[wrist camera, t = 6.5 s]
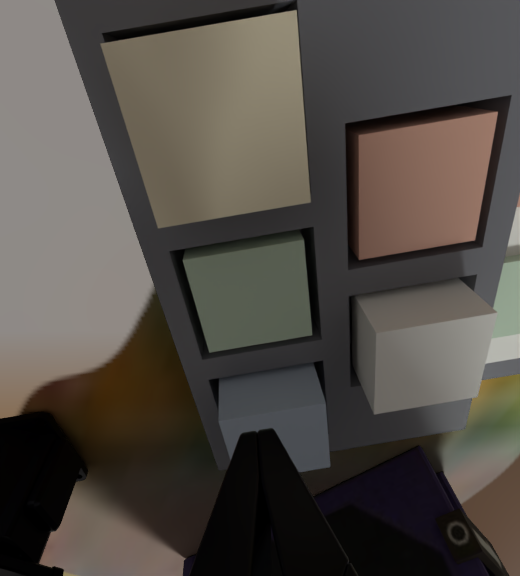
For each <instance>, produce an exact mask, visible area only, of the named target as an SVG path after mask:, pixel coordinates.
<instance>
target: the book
mask: <svg viewBox="0 0 520 576" xmlns="http://www.w3.org/2000/svg"><path fill="white" fill-rule="evenodd" d="M313 498H314V500H315V501H316V503H317V505H318V507H319V508H320V510H321V512H322V514H323V515H324V517H325V519H326V521H327V522H328V524H329V526H330V527H331V529H332V531H333V533H334V534H335V536H336V538H337V540H338V541H339V543H340V545H341V547H342V548H343V550H344V552H345V554H346V555H347V557H348V559H349V563H351V564H352V566H353V567H354V569H355V571H356V572H357V574H358V576H509V574H508V573H507V571H506V569H505V567H504V566H503V564H502V562H501V560H500V559H499V557H498V555H497V553H496V551H495V550H494V548H493V546H492V544H491V543H490V542H489V541H488V540H487V538H486V537H485V536H484V535H483V534H482V533H481V532H480V531H479V529H478V528H477V527H476V526H475V525H474V524H473V523H472V522H471V520H470V519H469V518H468V517H467V515H466V513H465V512H464V510H463V508H462V506H461V504H460V502H459V500H458V499H457V497H456V495H455V493H454V491H453V489H452V488H451V486H450V484H449V482H448V480H447V478H446V477H445V475H444V474H443V472H440V473H438V474H436V473H435V472H434V470H433V468H432V466H431V464H430V462H429V460H428V458H427V456H426V454H425V453H424V451H423V449H422V448H421V447H420V446H418V447H416V448H414V449H411V450H409V451H407V452H405V453H403V454H401V455H399V456H397V457H395V458H393V459H391V460H389V461H387V462H385V463H383V464H380V465H378V466H376V467H374V468H372V469H370V470H368V471H366V472H364V473H362V474H360V475H358V476H356V477H354V478H352V479H350V480H347V481H345V482H343V483H341V484H339V485H337V486H335V487H333V488H331V489H329V490H327V491H325V492H323V493H321V494H319V495H317V496H314V497H313ZM271 545H272V576H283V575H282V571H281V566H280V562H279V558H278V554H277V549H276V545H275V541H274V536H273V532H272V528H271ZM195 557H196V555H193V556H191V557H189V558H187V559H185V560H184V568H183V576H189V574H190V571H191V568H192V566H193V563H194V560H195Z"/></svg>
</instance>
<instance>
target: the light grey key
mask: <svg viewBox="0 0 520 576" xmlns="http://www.w3.org/2000/svg"><path fill="white" fill-rule="evenodd" d="M351 306H352V365H353V367H354V370H355V372H356V374H357V377H358V379H359V381H360V383H361V386H362V388H363V390H364V393H365V395H366V397H367V400H368V402H369V404H370V406H371V409H372V411H373V413H374V415H375V414H380V413H386V412H392V411H398V410H404V409H410V408H416V407H422V406H428V405H434V404H440V403H445V402H451V401H457V400H463V399H469V398H475V397H477V396H478V392H479V388H480V384H481V380H482V376H483V371H484V367H485V363H486V359H487V355H488V351H489V347H490V343H491V338H492V334H493V330H494V326H495V322H496V318H497V314H498V312H496V311H495V310H494V309H493V308H492V307H491V306H490V305H489V304H487V303H486V302H485V301H484V300H483V299H482V298H481V297H479V296H478V295H477V294H476V293H475V292H474V291H473V290H471V289H470V288H469V287H468V286H467V285H466V284H465V283H464V282H462V281H461V280H460V279H459V278H453V279H447V280H441V281H435V282H429V283H423V284H417V285H412V286H406V287H400V288H394V289H388V290H382V291H376V292H370V293H364V294H359V295H353V296H351Z"/></svg>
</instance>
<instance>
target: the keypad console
mask: <svg viewBox="0 0 520 576" xmlns="http://www.w3.org/2000/svg"><path fill="white" fill-rule="evenodd" d="M55 3H56V6H57V9H58V11H59V14H60V17H61V20H62V23H63V26H64V29H65V31H66V34H67V37H68V40H69V43H70V46H71V48H72V51H73V54H74V57H75V60H76V63H77V66H78V69H79V71H80V74H81V77H82V80H83V83H84V86H85V89H86V92H87V94H88V97H89V100H90V103H91V106H92V109H93V112H94V115H95V117H96V120H97V123H98V126H99V129H100V132H101V134H102V137H103V140H104V143H105V146H106V149H107V151H108V155H109V157H110V160H111V163H112V166H113V169H114V172H115V175H116V177H117V180H118V183H119V186H120V189H121V192H122V195H123V197H124V200H125V203H126V206H127V209H128V212H129V214H130V217H131V220H132V223H133V226H134V229H135V232H136V235H137V238H138V240H139V243H140V246H141V249H142V252H143V255H144V258H145V260H146V263H147V266H148V269H149V272H150V274H151V278H152V280H153V283H154V286H155V289H156V292H157V295H158V298H159V300H160V303H161V306H162V309H163V312H164V315H165V318H166V321H167V323H168V326H169V329H170V332H171V335H172V338H173V341H174V343H175V346H176V349H177V352H178V355H179V358H180V361H181V363H182V366H183V369H184V372H185V375H186V378H187V381H188V383H189V386H190V389H191V392H192V395H193V398H194V401H195V403H196V406H197V409H198V412H199V415H200V418H201V421H202V424H203V426H204V429H205V432H206V435H207V438H208V441H209V444H210V446H211V449H212V452H213V455H214V458H215V461H216V464H217V466H218V469H219V471H220V470H226V469H228V466H229V463H230V461H231V460H230V457H229V454H228V450H227V447H226V444H225V441H224V438H223V434H222V431H221V428H220V425H219V422H218V417H219V378H223V377H228V376H234V375H240V374H246V373H252V372H258V371H264V370H270V369H276V368H282V367H287V366H293V365H299V364H305V363H311V362H313V363H314V366H315V370H316V373H317V376H318V379H319V383H320V386H321V389H322V392H323V396H324V399H325V402H326V413H327V426H328V440H329V452H332V451H338V450H344V449H350V448H356V447H362V446H368V445H374V444H380V443H386V442H392V441H398V440H404V439H409V438H415V437H421V436H427V435H433V434H439V433H445V432H451V431H457V430H463V429H465V427H466V423H467V418H468V414H469V410H470V406H471V401H472V398H469V399H463V400H457V401H451V402H445V403H440V404H434V405H428V406H422V407H416V408H410V409H404V410H398V411H392V412H386V413H380V414H375V415H374V413H373V411H372V409H371V406H370V404H369V402H368V400H367V397H366V395H365V393H364V390H363V388H362V386H361V383H360V381H359V379H358V377H357V374H356V372H355V370H354V367H353V365H352V306H351V296H353V295H359V294H364V293H370V292H376V291H382V290H388V289H394V288H400V287H406V286H412V285H417V284H423V283H429V282H435V281H441V280H447V279H453V278H459V279H460V280H461V281H462V282H464V283H465V284H466V285H467V286H468V287H469V288H470V289H471V290H473V291H474V292H475V293H476V294H477V295H478V296H479V297H481V298H482V299H483V300H484V301H485V302H486V303H487V304H489V305H490V306H491V307H492V308H493V309H494V310H495V311H496V312H498V314H497V318H496V322H495V326H494V330H493V334H492V338H491V343H490V347H489V351H488V355H487V359H486V363H485V367H484V371H483V376H482V380H486V379H491V378H497V377H503V376H509V375H515V374H520V0H55ZM294 10H297V22H298V36H299V49H300V62H301V76H302V89H303V103H304V116H305V130H306V143H307V157H308V170H309V184H310V197H311V202H310V203H305V204H299V205H293V206H287V207H281V208H275V209H269V210H264V211H258V212H252V213H246V214H240V215H234V216H228V217H222V218H217V219H211V220H205V221H199V222H193V223H187V224H181V225H176V226H170V227H164V228H158V227H157V223H156V220H155V217H154V214H153V211H152V207H151V204H150V201H149V198H148V195H147V191H146V188H145V185H144V182H143V179H142V175H141V172H140V169H139V166H138V163H137V160H136V156H135V153H134V150H133V147H132V144H131V140H130V137H129V134H128V131H127V128H126V124H125V121H124V118H123V115H122V112H121V108H120V105H119V102H118V99H117V96H116V92H115V89H114V86H113V83H112V80H111V76H110V73H109V70H108V67H107V64H106V60H105V57H104V54H103V51H102V48H101V44H102V43H107V42H113V41H119V40H125V39H131V38H136V37H142V36H148V35H154V34H160V33H166V32H171V31H177V30H183V29H189V28H195V27H201V26H206V25H212V24H218V23H224V22H230V21H235V20H241V19H247V18H253V17H259V16H265V15H270V14H276V13H282V12H288V11H294ZM450 105H457V106H464V107H470V108H477V109H484V110H491V111H498V115H497V121H496V126H495V132H494V138H493V143H492V149H491V154H490V160H489V165H488V171H487V177H486V182H485V188H484V193H483V199H482V205H481V210H480V216H479V221H478V227H477V232H476V238H475V240H474V241H468V242H462V243H456V244H450V245H445V246H439V247H433V248H427V249H421V250H415V251H409V252H403V253H398V254H392V255H386V256H380V257H374V258H368V259H362V260H359V259H358V258H357V256H356V255H355V254H354V252H353V251H352V249H351V248H350V247H349V245H348V238H347V190H346V143H345V123H350V122H356V121H362V120H368V119H374V118H380V117H386V116H391V115H397V114H403V113H409V112H415V111H421V110H427V109H432V108H438V107H444V106H450ZM297 229H299V231H300V233H301V235H302V237H303V239H304V247H305V258H306V269H307V280H308V291H309V302H310V313H311V325H312V335H311V336H305V337H299V338H293V339H287V340H281V341H275V342H269V343H264V344H258V345H252V346H246V347H240V348H234V349H228V350H222V351H216V352H211V353H209V350H208V346H207V343H206V339H205V336H204V333H203V329H202V326H201V322H200V319H199V315H198V312H197V308H196V305H195V301H194V298H193V295H192V291H191V288H190V284H189V281H188V277H187V274H186V270H185V267H184V263H183V257H184V252H185V249H186V248H191V247H197V246H203V245H209V244H215V243H221V242H227V241H233V240H238V239H244V238H250V237H256V236H262V235H268V234H274V233H280V232H285V231H291V230H297Z"/></svg>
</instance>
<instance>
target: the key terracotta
mask: <svg viewBox="0 0 520 576" xmlns="http://www.w3.org/2000/svg"><path fill="white" fill-rule="evenodd" d="M497 115H498V111H491V110H484V109H477V108H470V107H464V106H457V105H450V106H444V107H438V108H432V109H427V110H421V111H415V112H409V113H403V114H397V115H391V116H386V117H380V118H374V119H368V120H362V121H356V122H350V123H345V143H346V190H347V238H348V245H349V247H350V248H351V249H352V251H353V252H354V254H355V255H356V256H357V258H358V259H359V260H362V259H368V258H374V257H380V256H386V255H392V254H398V253H403V252H409V251H415V250H421V249H427V248H433V247H439V246H445V245H450V244H456V243H462V242H468V241H474V240H475V238H476V232H477V227H478V221H479V216H480V210H481V205H482V199H483V193H484V188H485V182H486V177H487V171H488V165H489V160H490V154H491V149H492V143H493V138H494V132H495V126H496V121H497Z"/></svg>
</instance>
